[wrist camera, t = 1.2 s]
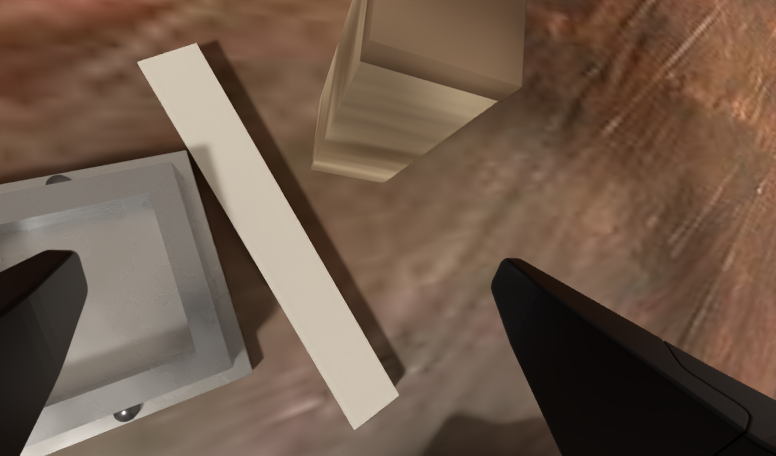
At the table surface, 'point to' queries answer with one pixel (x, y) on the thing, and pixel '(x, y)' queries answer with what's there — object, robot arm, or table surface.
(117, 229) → the keeper
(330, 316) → the door edge strip
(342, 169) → the block
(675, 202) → the table surface
